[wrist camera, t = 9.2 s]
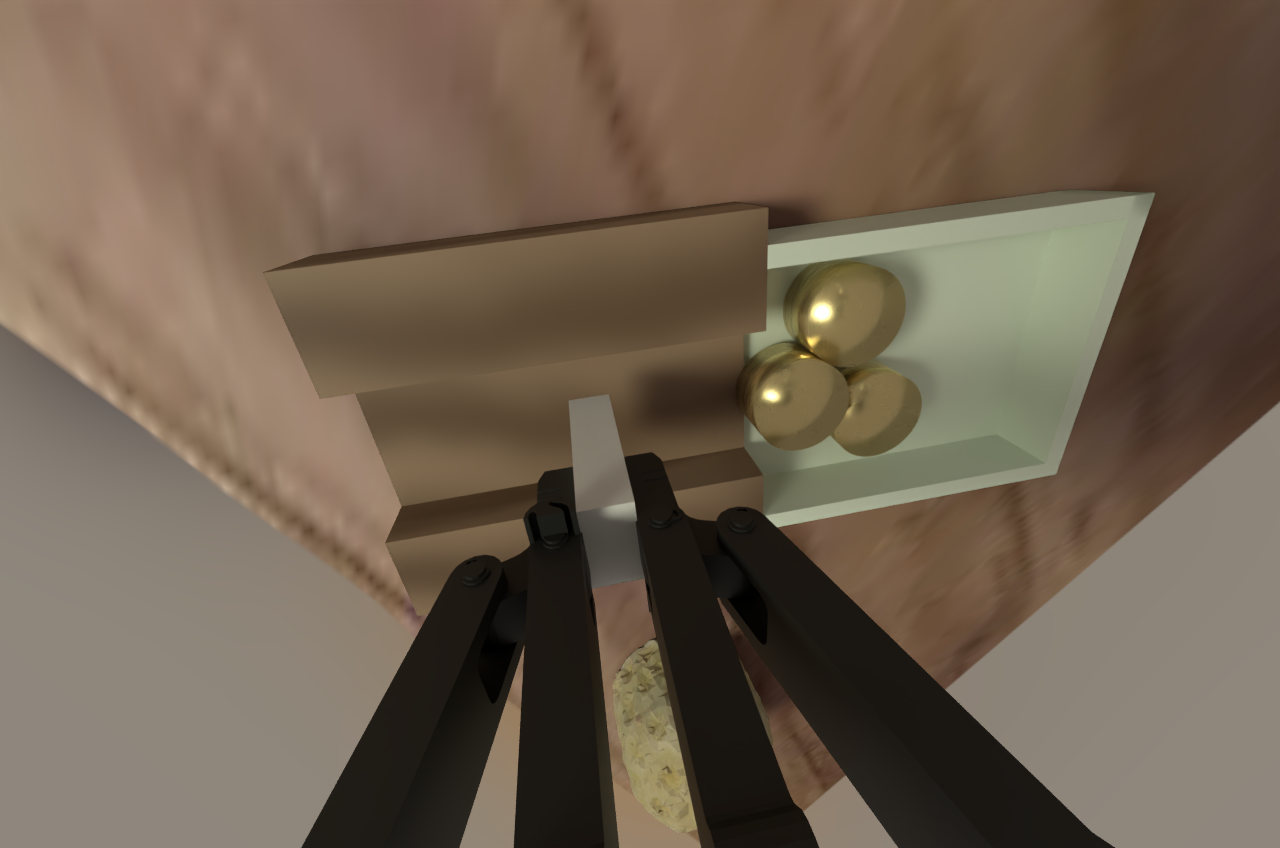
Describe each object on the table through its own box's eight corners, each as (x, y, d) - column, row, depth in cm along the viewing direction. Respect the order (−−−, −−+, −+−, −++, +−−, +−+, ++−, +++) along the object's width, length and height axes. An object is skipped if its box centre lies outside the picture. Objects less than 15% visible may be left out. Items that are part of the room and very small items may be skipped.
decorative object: (623, 680, 37) (698, 827, 32) (556, 699, 28) (646, 904, 23) (721, 608, 36) (813, 746, 32) (683, 604, 28) (803, 794, 23)
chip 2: (728, 359, 21) (750, 380, 19) (815, 331, 22) (846, 349, 19) (743, 435, 23) (764, 462, 21) (822, 409, 23) (851, 433, 21)
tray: (734, 233, 20) (767, 245, 17) (1068, 189, 21) (1155, 192, 18) (737, 487, 26) (762, 529, 23) (999, 440, 27) (1056, 474, 24)
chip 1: (765, 300, 21) (790, 315, 19) (843, 235, 20) (879, 242, 18) (810, 365, 23) (838, 385, 21) (884, 307, 22) (921, 322, 20)
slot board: (312, 255, 18) (262, 272, 15) (734, 202, 19) (768, 207, 16) (434, 561, 25) (417, 616, 22) (737, 505, 26) (762, 549, 23)
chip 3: (846, 340, 22) (878, 358, 20) (903, 378, 24) (939, 399, 22) (793, 410, 24) (817, 435, 22) (850, 443, 25) (878, 469, 23)
